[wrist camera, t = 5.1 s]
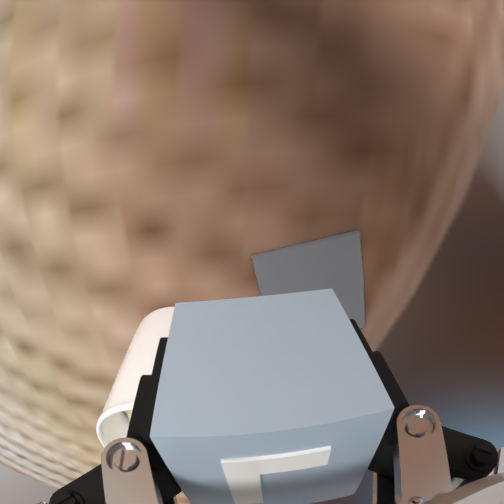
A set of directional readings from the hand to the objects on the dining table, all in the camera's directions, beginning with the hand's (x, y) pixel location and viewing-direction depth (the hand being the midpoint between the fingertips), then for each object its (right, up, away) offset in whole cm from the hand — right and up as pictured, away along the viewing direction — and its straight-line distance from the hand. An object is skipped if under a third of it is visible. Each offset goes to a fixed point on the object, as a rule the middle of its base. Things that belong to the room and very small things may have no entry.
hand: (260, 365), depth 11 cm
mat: (+5, 0, +17) cm, 18 cm away
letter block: (0, 0, 0) cm, 1 cm away
